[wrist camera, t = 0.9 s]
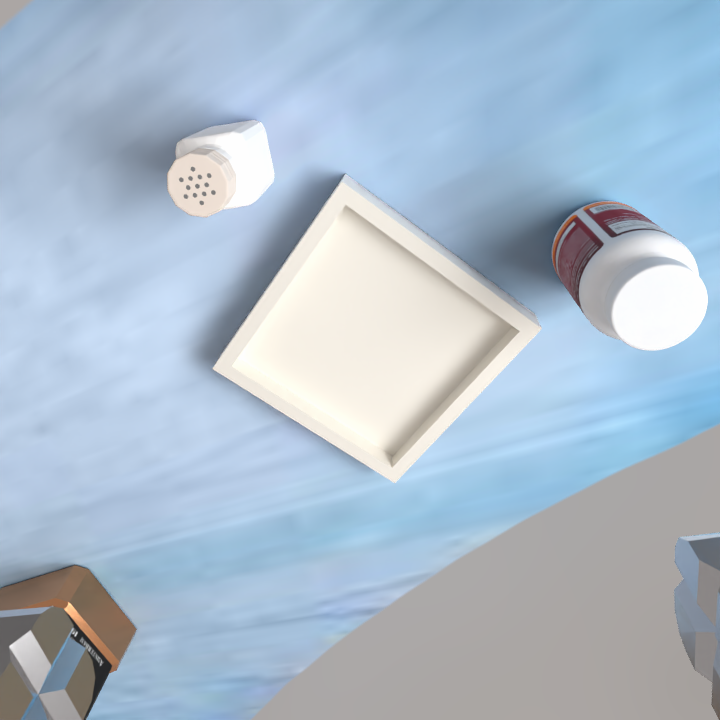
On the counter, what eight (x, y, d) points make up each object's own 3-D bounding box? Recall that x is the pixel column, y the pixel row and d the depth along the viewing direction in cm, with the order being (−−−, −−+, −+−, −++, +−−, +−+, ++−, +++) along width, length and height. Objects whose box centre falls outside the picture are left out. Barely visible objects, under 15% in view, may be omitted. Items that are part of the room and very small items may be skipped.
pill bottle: (581, 308, 43) (632, 386, 34) (530, 239, 42) (569, 301, 32) (666, 252, 41) (746, 318, 32) (616, 177, 39) (685, 223, 30)
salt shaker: (278, 182, 41) (245, 220, 33) (218, 191, 41) (170, 230, 33) (265, 117, 39) (225, 138, 31) (202, 127, 40) (147, 150, 31)
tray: (345, 173, 40) (341, 181, 38) (535, 314, 44) (541, 328, 42) (221, 353, 47) (212, 368, 45) (395, 463, 50) (394, 483, 48)
